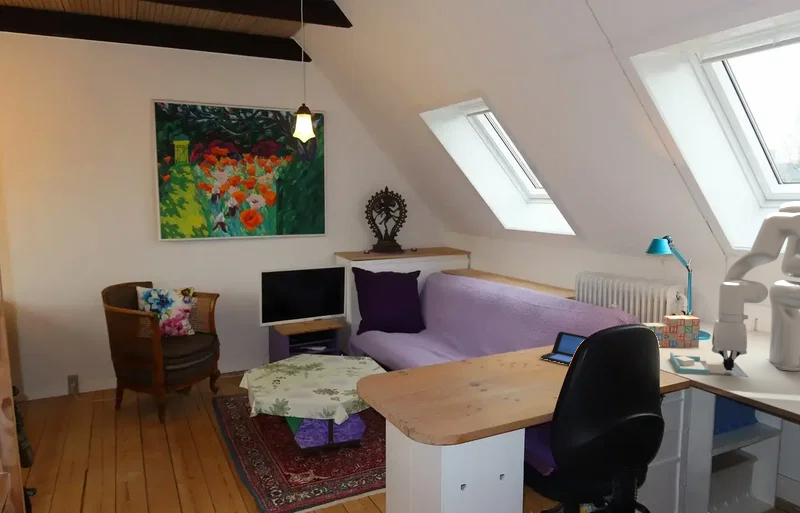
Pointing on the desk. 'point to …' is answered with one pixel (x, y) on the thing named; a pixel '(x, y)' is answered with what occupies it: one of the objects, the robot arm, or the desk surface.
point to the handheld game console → (564, 347)
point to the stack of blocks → (677, 331)
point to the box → (687, 370)
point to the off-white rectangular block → (714, 366)
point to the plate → (735, 371)
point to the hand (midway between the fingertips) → (728, 369)
